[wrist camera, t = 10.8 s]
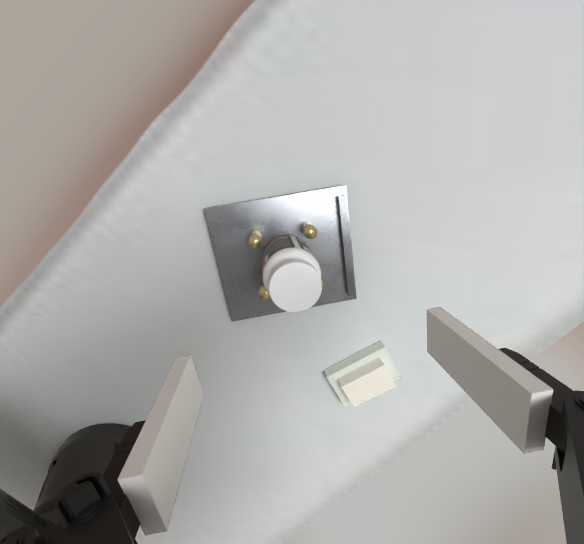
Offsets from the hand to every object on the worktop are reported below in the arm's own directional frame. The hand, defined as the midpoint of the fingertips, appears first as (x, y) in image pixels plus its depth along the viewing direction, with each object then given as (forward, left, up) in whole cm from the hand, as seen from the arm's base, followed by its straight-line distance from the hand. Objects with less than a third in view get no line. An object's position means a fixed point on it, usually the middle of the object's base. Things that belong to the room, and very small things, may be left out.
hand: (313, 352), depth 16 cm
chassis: (0, 0, -21) cm, 21 cm away
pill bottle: (0, 0, -20) cm, 20 cm away
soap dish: (+8, -19, -21) cm, 29 cm away
